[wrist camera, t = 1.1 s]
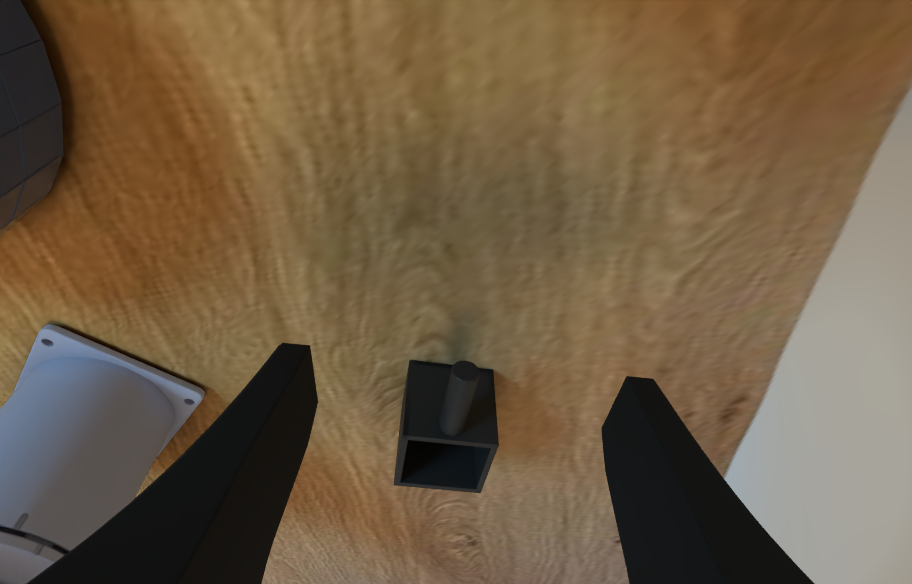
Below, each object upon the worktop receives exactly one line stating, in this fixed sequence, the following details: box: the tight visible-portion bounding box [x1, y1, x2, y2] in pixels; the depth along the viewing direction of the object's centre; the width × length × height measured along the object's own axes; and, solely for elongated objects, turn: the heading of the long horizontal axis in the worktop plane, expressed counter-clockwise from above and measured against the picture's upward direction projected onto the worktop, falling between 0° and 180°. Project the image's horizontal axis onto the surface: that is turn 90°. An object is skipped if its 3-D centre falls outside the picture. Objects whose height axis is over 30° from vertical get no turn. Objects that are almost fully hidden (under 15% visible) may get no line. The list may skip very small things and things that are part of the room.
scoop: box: [394, 360, 499, 493], centre depth 25 cm, size 8×4×5 cm, turn 170°
